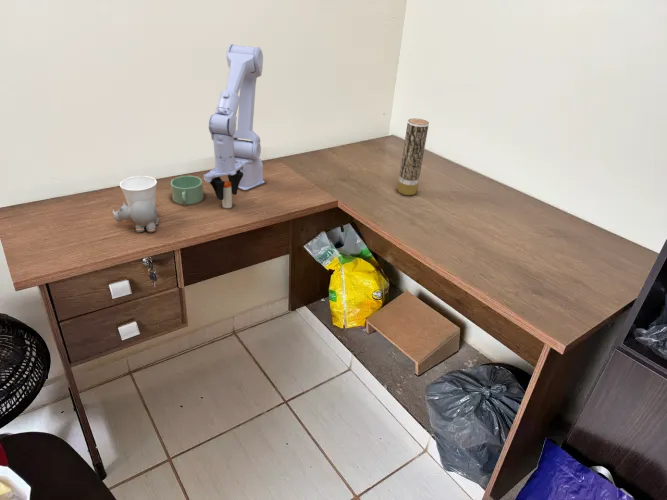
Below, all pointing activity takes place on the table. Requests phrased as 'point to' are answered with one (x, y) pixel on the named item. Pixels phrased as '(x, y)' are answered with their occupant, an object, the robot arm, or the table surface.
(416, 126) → the paper tube
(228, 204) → the glue stick
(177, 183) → the mug
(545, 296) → the table surface
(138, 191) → the cup
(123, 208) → the chubby cartoon animal
